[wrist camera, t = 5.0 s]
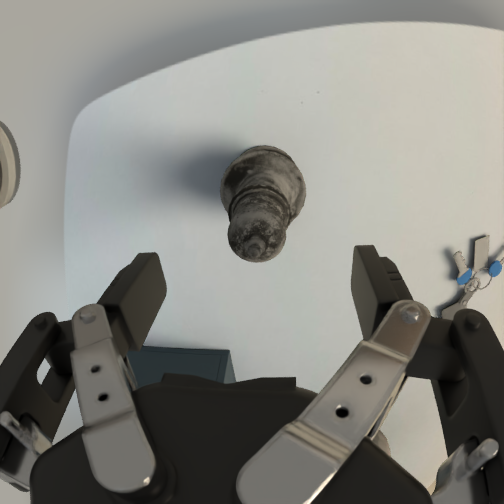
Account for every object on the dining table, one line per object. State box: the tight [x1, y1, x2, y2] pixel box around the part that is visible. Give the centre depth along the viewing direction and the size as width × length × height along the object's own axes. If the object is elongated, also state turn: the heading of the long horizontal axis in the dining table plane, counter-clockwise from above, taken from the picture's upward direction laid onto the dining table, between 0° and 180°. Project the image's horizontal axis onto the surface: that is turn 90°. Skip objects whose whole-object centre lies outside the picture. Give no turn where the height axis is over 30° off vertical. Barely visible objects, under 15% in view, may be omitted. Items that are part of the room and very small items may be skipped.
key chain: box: [441, 235, 504, 320], centre depth 26 cm, size 14×8×1 cm, turn 158°
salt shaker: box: [220, 146, 306, 262], centre depth 19 cm, size 6×6×12 cm
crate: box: [126, 346, 236, 387], centre depth 35 cm, size 14×14×7 cm
